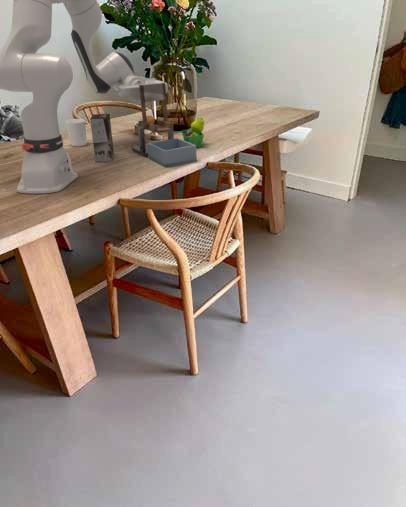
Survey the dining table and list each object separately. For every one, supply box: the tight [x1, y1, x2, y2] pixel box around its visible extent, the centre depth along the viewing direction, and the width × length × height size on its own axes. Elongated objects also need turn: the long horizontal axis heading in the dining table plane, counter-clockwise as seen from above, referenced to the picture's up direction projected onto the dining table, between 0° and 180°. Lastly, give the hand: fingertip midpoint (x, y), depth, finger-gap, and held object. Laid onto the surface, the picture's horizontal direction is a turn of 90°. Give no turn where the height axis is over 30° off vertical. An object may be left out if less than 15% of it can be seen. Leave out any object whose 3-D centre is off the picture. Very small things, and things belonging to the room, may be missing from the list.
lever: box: [137, 82, 174, 134], centre depth 165 cm, size 15×10×17 cm
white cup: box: [65, 118, 88, 147], centre depth 182 cm, size 8×8×10 cm
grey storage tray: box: [146, 137, 198, 168], centre depth 163 cm, size 14×14×6 cm
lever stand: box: [131, 126, 175, 158], centre depth 172 cm, size 11×15×11 cm
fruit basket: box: [181, 116, 205, 148], centre depth 180 cm, size 11×9×11 cm
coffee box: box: [89, 113, 115, 163], centre depth 162 cm, size 9×6×16 cm
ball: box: [146, 115, 156, 124], centre depth 171 cm, size 4×4×4 cm
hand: (152, 92), depth 163 cm, fingers closed, pressing on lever
